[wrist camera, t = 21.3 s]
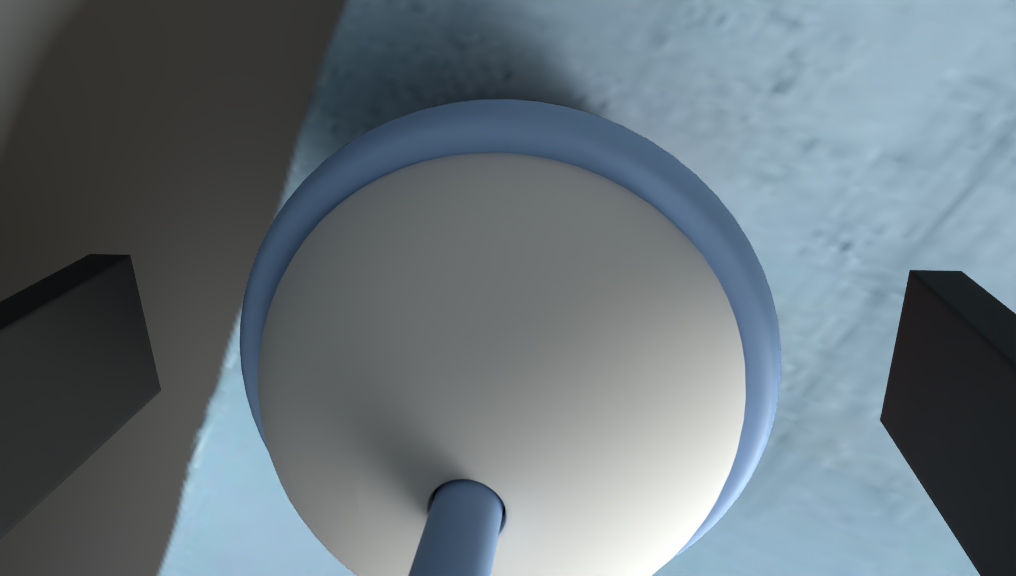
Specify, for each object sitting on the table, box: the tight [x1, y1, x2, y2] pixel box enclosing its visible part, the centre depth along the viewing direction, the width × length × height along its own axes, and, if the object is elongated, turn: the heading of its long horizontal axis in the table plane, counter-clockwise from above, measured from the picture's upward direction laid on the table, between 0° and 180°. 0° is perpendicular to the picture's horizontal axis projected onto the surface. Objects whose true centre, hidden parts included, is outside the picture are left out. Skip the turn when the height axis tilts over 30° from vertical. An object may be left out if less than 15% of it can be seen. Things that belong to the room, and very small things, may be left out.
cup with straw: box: [240, 99, 781, 576], centre depth 14 cm, size 9×9×18 cm
